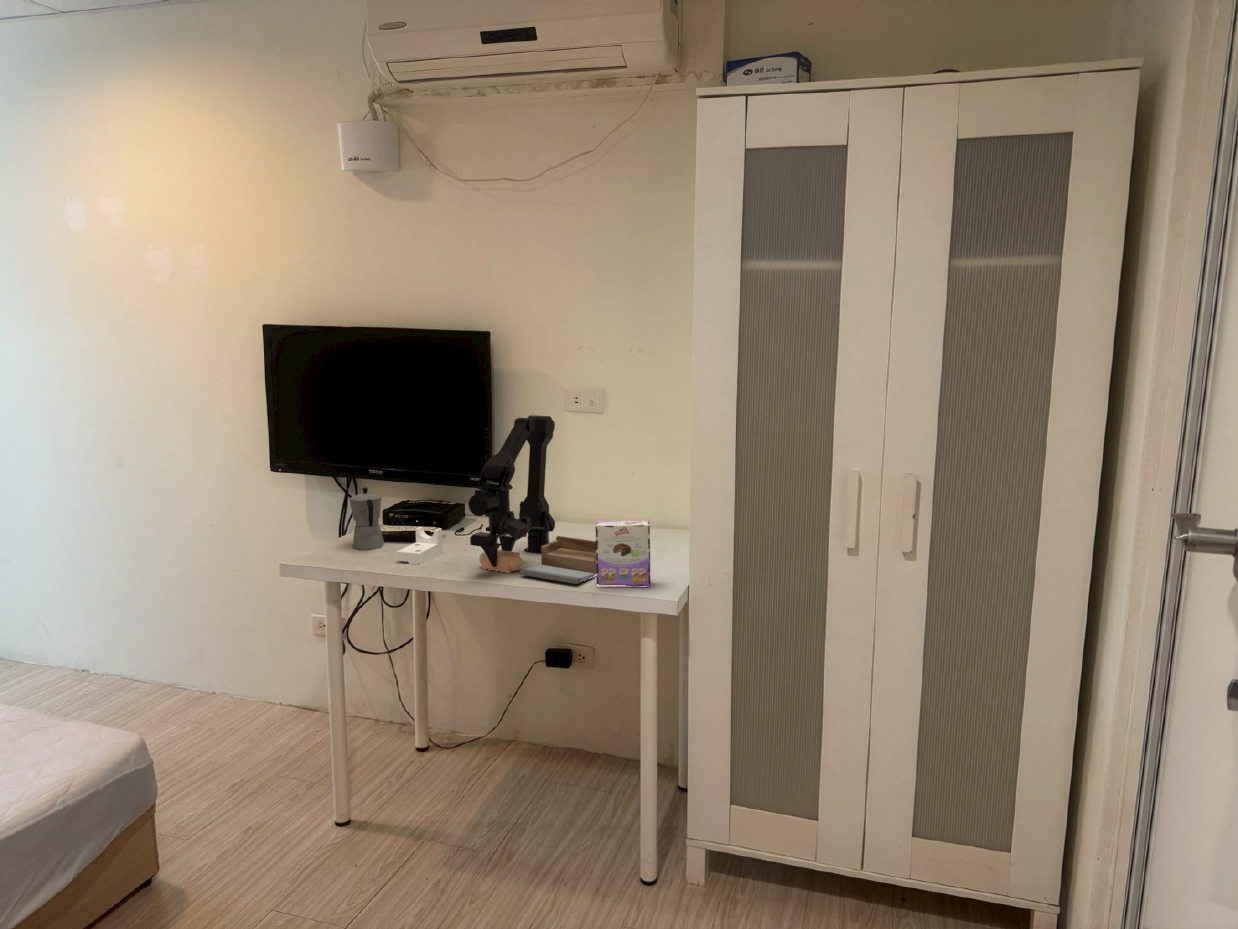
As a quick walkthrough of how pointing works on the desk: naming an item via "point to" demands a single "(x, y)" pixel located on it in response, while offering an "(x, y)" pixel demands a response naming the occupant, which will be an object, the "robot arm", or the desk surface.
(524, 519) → the robot arm
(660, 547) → the desk surface
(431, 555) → the bracket
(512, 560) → the dome topped block
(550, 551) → the tray
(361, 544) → the coffeepot
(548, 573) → the panel
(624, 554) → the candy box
